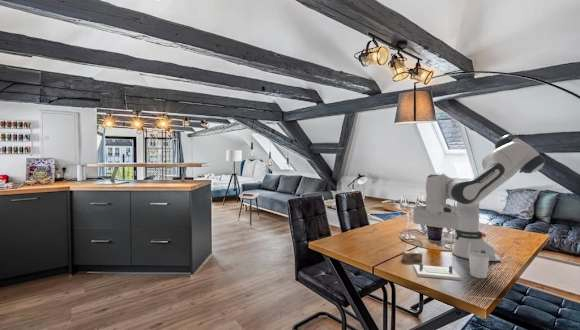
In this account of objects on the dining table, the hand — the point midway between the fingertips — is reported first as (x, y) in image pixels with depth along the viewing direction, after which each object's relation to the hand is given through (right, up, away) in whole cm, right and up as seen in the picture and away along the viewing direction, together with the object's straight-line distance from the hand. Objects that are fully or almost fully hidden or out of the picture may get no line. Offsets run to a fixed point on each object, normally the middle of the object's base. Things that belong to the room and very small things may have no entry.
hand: (435, 235), depth 139 cm
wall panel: (0, -18, 0) cm, 18 cm away
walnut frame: (-5, -18, +16) cm, 24 cm away
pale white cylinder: (+19, -19, -3) cm, 27 cm away
